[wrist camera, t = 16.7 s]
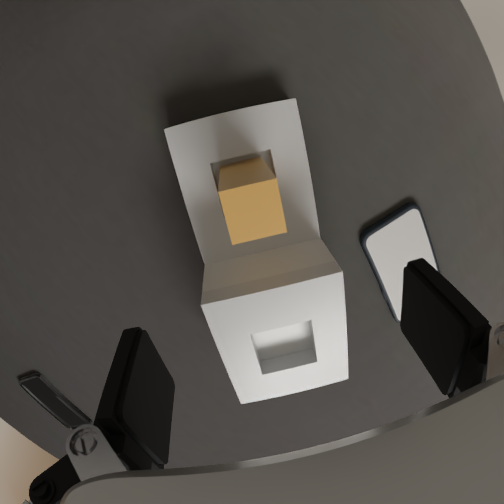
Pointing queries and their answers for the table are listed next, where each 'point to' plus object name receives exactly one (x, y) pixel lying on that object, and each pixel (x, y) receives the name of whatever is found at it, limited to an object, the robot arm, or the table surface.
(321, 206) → the table surface
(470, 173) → the table surface
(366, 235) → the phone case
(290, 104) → the white stepped socket block
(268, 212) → the plug
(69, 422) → the phone
